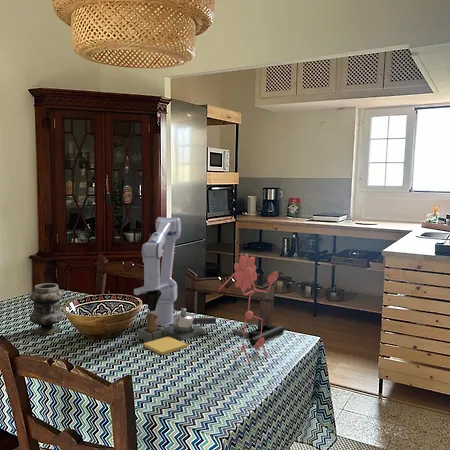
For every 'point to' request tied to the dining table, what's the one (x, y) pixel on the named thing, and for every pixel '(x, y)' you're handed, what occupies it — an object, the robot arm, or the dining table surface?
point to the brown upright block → (151, 322)
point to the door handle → (268, 334)
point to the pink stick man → (244, 280)
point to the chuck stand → (184, 333)
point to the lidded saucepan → (188, 321)
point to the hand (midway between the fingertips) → (152, 310)
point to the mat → (165, 345)
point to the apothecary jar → (46, 308)
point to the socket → (151, 334)
